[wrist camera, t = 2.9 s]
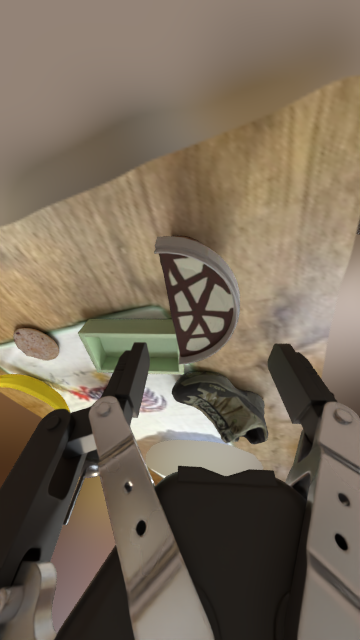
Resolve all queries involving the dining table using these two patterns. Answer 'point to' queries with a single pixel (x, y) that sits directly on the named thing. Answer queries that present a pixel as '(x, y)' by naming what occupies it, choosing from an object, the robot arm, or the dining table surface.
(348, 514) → the robot arm
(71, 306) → the dining table surface
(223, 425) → the hiking shoe
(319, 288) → the dining table surface
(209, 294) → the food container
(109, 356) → the holder
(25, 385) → the banana
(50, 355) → the flatbread
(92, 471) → the drinking cup
